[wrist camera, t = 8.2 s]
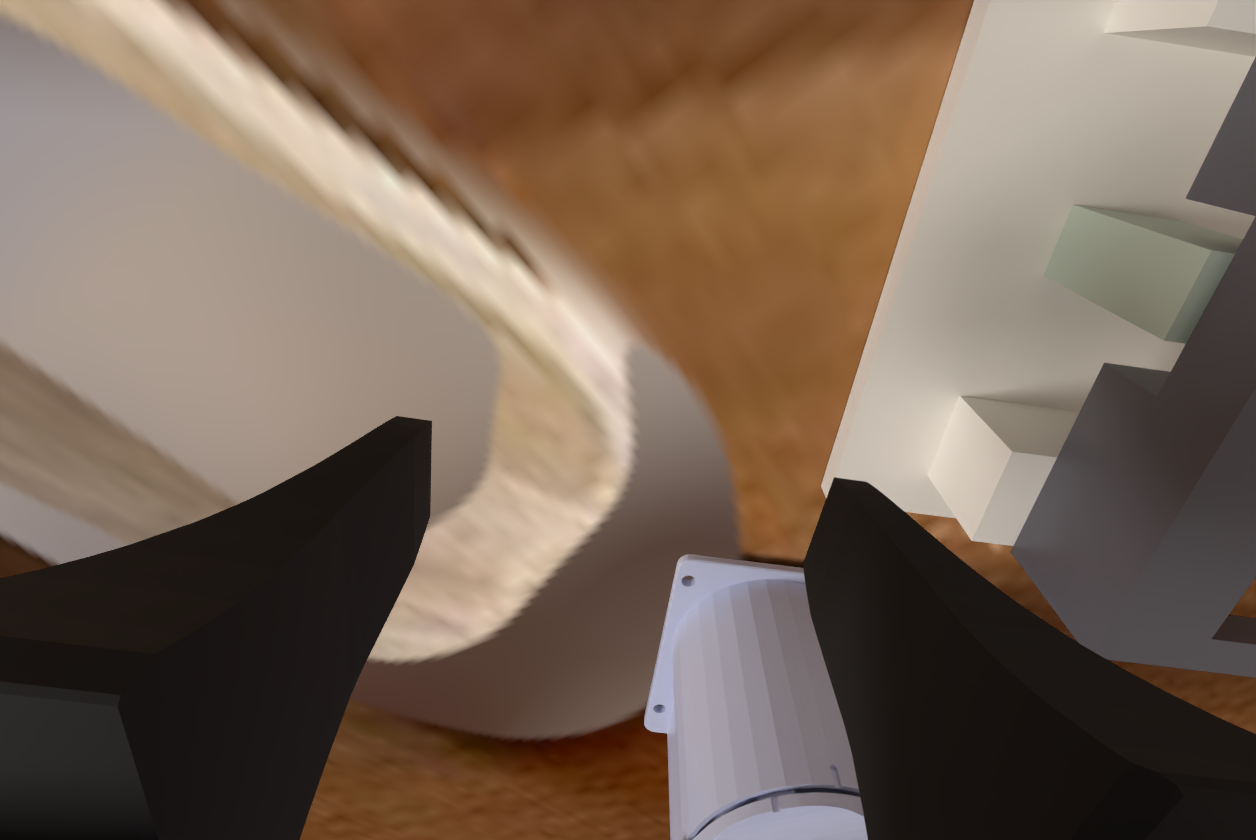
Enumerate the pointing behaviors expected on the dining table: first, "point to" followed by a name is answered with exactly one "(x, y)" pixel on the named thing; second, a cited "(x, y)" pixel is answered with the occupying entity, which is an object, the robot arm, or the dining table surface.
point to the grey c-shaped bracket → (1166, 473)
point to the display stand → (1044, 246)
